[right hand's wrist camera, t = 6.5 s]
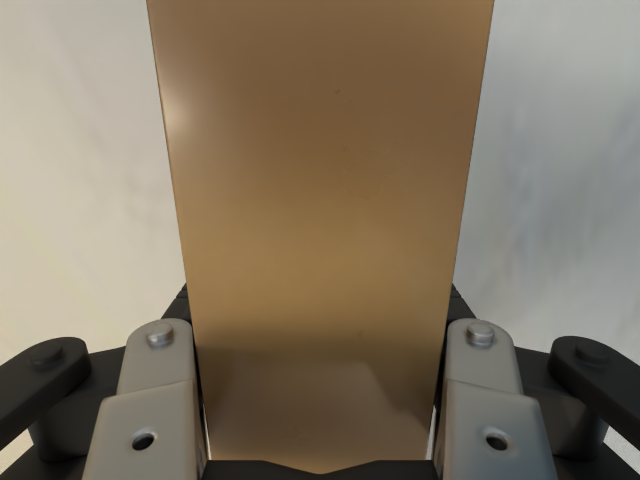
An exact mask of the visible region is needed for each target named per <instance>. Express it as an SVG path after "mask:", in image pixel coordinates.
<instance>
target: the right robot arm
mask: <svg viewBox="0 0 640 480" xmlns="http://www.w3.org/2000/svg"><path fill="white" fill-rule="evenodd" d="M203 404H204V402H203V395H202V388H201V381H200V374H199V367H198V360H197V353H196V346H195V339H194V332H193V325H192V318H191V311H190V304H189V297H188V290H187V283H185V285H184V286H183V288H182V290H181V291H180V292H179V293H178V295H177V296H176V299H174V300H173V302H172V303H171V305H170V306H169V308H168V309H167V310H166V312H165V313H164V315H163V316H162V318H161V319H160V320H156V321H152V322H150V323H147V324H145V325H143V326H141V327H139V328H138V329H136V330H135V331H134V332H133V333H132V334H131V335H130V336H129V338H128V340H127V344H126V346H123V347H120V348H116V349H111V350H106V351H101V352H96V353H91V354H88V350H87V347H86V344H85V342H84V341H83V340H81V339H79V338H75V337H61V338H55V339H51V340H47V341H44V342H41V343H38V344H36V345H34V346H32V347H30V348H28V349H26V350H24V351H23V352H21V353H20V354H18V355H16V356H15V357H13V358H12V359H10V360H9V361H7V362H6V363H4V364H3V365H1V366H0V451H1V450H2V449H3V448H4V447H6V446H7V445H8V444H9V443H10V442H12V441H13V440H14V439H15V438H16V437H17V436H19V435H20V434H21V433H22V432H23V431H25V430H26V429H27V428H28V431H29V433H30V436H31V438H32V441H33V444H34V445H33V446H32V447H31V448H29V449H28V450H27V451H26V452H25V453H24V454H23V455H22V456H21V457H19V458H18V459H17V460H16V461H15V462H14V463H13V464H12V465H11V466H10V467H8V468H7V469H6V470H5V471H4V472H3V473H2V474H1V475H0V480H640V475H639V474H638V473H637V472H636V471H635V470H634V469H633V468H632V467H630V466H629V465H628V464H627V463H626V462H625V461H624V460H623V459H622V458H621V457H619V456H618V455H617V454H616V453H615V452H614V451H613V450H612V449H611V448H609V447H608V446H607V445H606V444H605V443H604V442H603V440H604V438H605V435H606V433H607V430H608V427H609V425H610V426H611V427H612V428H613V429H614V430H615V431H617V432H618V433H619V434H620V435H621V436H623V437H624V438H625V439H626V440H627V441H628V442H630V443H631V444H632V445H633V446H634V447H635V448H637V449H638V450H639V451H640V366H639V365H637V364H636V363H634V362H633V361H631V360H630V359H628V358H627V357H625V356H624V355H622V354H620V353H619V352H617V351H616V350H614V349H612V348H611V347H609V346H607V345H605V344H602V343H600V342H598V341H595V340H592V339H588V338H584V337H578V336H563V337H559V338H557V339H556V340H555V341H554V342H553V344H552V348H551V351H550V354H549V353H544V352H539V351H534V350H529V349H524V348H520V347H515V346H514V344H513V340H512V338H511V336H510V335H509V334H508V333H507V332H506V331H505V330H504V329H502V328H501V327H499V326H497V325H495V324H493V323H490V322H488V321H484V320H480V319H477V318H476V317H475V315H474V314H473V312H472V311H471V310H470V308H469V307H468V305H467V304H466V302H465V301H464V299H463V298H461V295H460V294H459V292H458V291H457V290H456V288H455V286H454V285H453V283H452V287H451V293H450V300H449V307H448V313H447V320H446V327H445V333H444V340H443V347H442V353H441V360H440V367H439V373H438V380H437V387H436V393H435V400H434V406H435V408H436V411H435V418H434V429H433V442H432V454H431V460H376V461H372V462H368V463H364V464H360V465H356V466H352V467H349V468H345V469H341V470H337V471H333V472H329V473H325V474H315V473H311V472H307V471H303V470H299V469H295V468H291V467H288V466H284V465H280V464H276V463H272V462H268V461H264V460H209V455H208V442H207V430H206V418H205V411H204V405H203Z"/></svg>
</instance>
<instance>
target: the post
mask: <svg viewBox="0 0 640 480" xmlns="http://www.w3.org/2000/svg"><path fill="white" fill-rule="evenodd" d="M146 3H147V10H148V17H149V24H150V31H151V38H152V45H153V52H154V59H155V66H156V73H157V80H158V87H159V94H160V101H161V108H162V115H163V122H164V129H165V136H166V143H167V150H168V157H169V164H170V171H171V178H172V185H173V192H174V199H175V206H176V213H177V220H178V227H179V234H180V241H181V248H182V255H183V262H184V269H185V276H186V283H187V290H188V297H189V304H190V311H191V318H192V325H193V332H194V339H195V346H196V353H197V360H198V367H199V374H200V381H201V388H202V395H203V402H204V409H205V416H206V423H207V430H208V437H209V444H210V451H211V458H212V460H264V461H268V462H272V463H276V464H280V465H284V466H288V467H291V468H295V469H299V470H303V471H307V472H311V473H315V474H325V473H329V472H333V471H337V470H341V469H345V468H349V467H352V466H356V465H360V464H364V463H368V462H372V461H376V460H426V453H427V447H428V440H429V433H430V427H431V420H432V413H433V407H434V400H435V393H436V387H437V380H438V373H439V367H440V360H441V353H442V347H443V340H444V333H445V327H446V320H447V313H448V307H449V300H450V293H451V287H452V280H453V273H454V267H455V260H456V253H457V247H458V240H459V233H460V227H461V220H462V213H463V207H464V200H465V193H466V187H467V180H468V173H469V167H470V160H471V153H472V147H473V140H474V133H475V127H476V120H477V113H478V107H479V100H480V93H481V87H482V80H483V73H484V67H485V60H486V53H487V47H488V40H489V33H490V27H491V20H492V13H493V7H494V0H146Z"/></svg>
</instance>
